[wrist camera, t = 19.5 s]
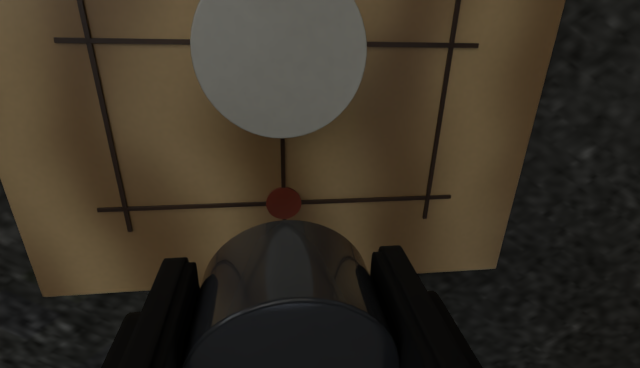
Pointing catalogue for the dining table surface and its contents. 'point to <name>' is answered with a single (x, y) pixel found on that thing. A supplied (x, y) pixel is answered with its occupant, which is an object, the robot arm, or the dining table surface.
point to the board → (260, 139)
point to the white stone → (279, 61)
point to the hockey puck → (289, 304)
